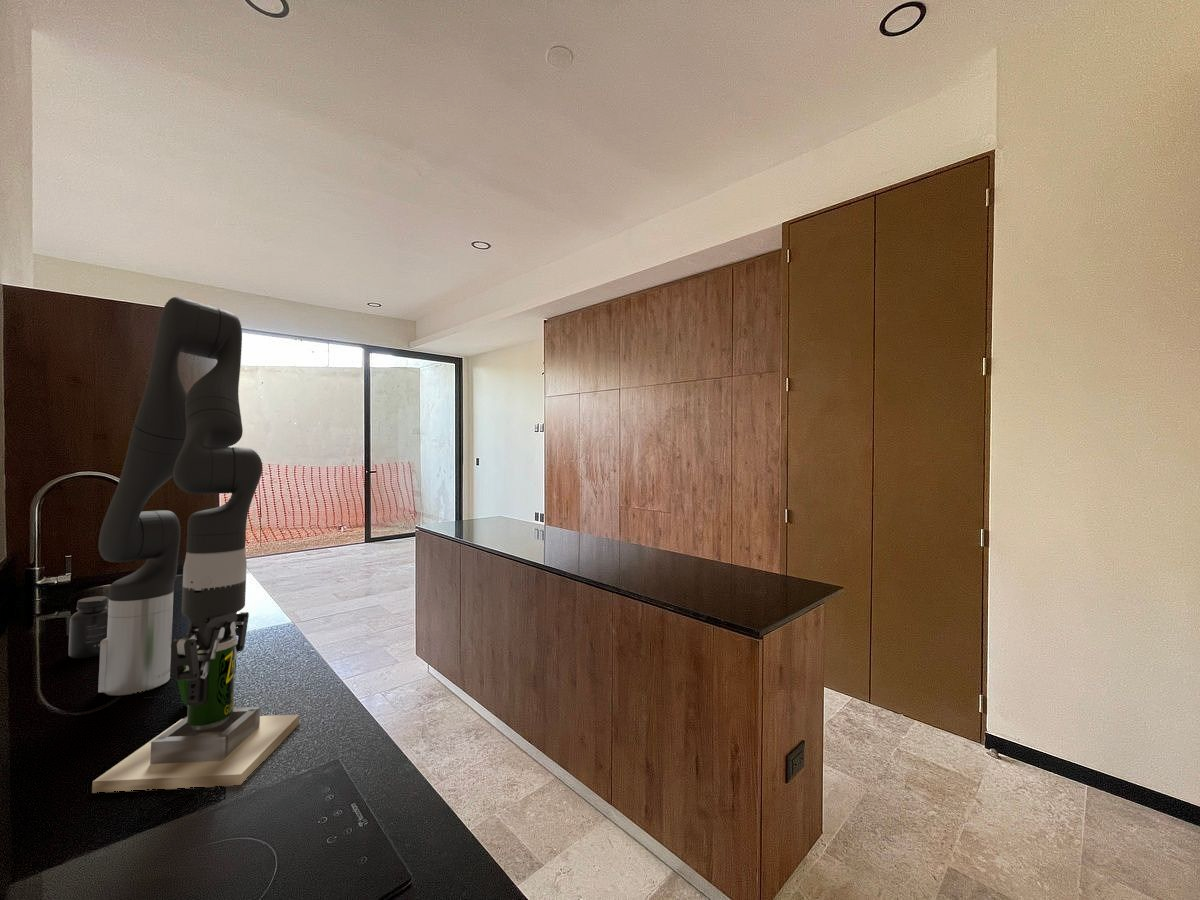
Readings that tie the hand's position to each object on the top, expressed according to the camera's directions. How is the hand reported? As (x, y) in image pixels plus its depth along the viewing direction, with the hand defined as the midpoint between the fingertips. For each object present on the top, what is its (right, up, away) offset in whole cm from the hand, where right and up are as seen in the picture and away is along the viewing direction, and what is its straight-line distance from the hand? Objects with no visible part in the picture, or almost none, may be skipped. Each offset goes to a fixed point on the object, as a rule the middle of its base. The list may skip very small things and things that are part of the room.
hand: (210, 694), depth 74 cm
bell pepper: (-13, -9, +15) cm, 22 cm away
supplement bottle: (-56, -9, +37) cm, 67 cm away
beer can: (0, -4, 0) cm, 4 cm away
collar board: (0, -9, 0) cm, 9 cm away
